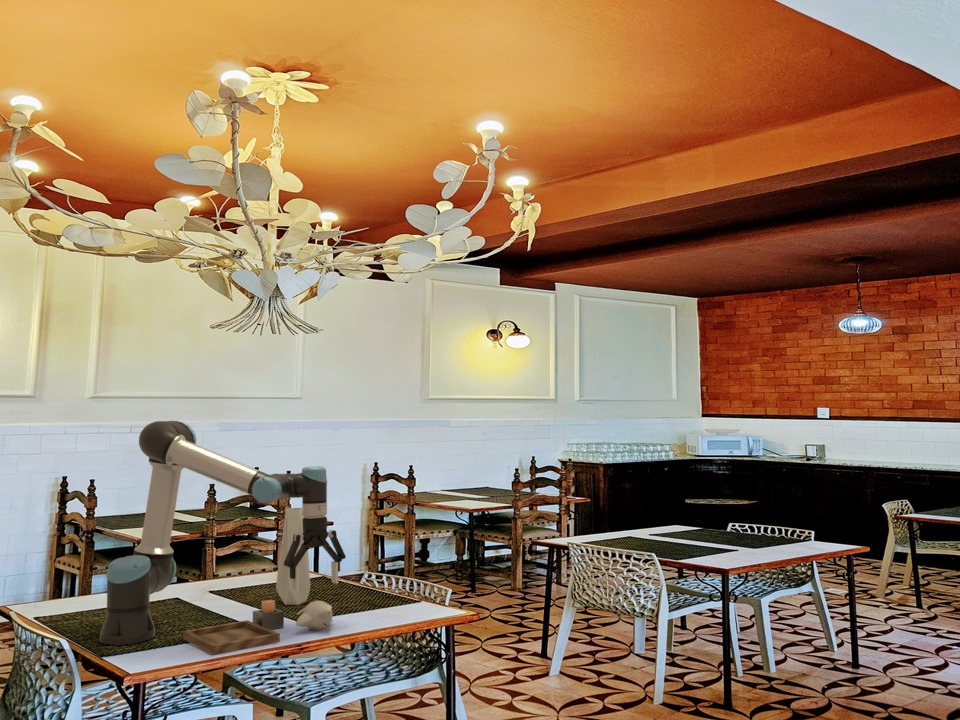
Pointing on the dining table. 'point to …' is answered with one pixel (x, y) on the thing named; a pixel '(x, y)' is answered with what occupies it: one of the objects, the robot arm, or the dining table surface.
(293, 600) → the vase
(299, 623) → the toy
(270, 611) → the orange block
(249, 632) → the tray
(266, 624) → the housing
